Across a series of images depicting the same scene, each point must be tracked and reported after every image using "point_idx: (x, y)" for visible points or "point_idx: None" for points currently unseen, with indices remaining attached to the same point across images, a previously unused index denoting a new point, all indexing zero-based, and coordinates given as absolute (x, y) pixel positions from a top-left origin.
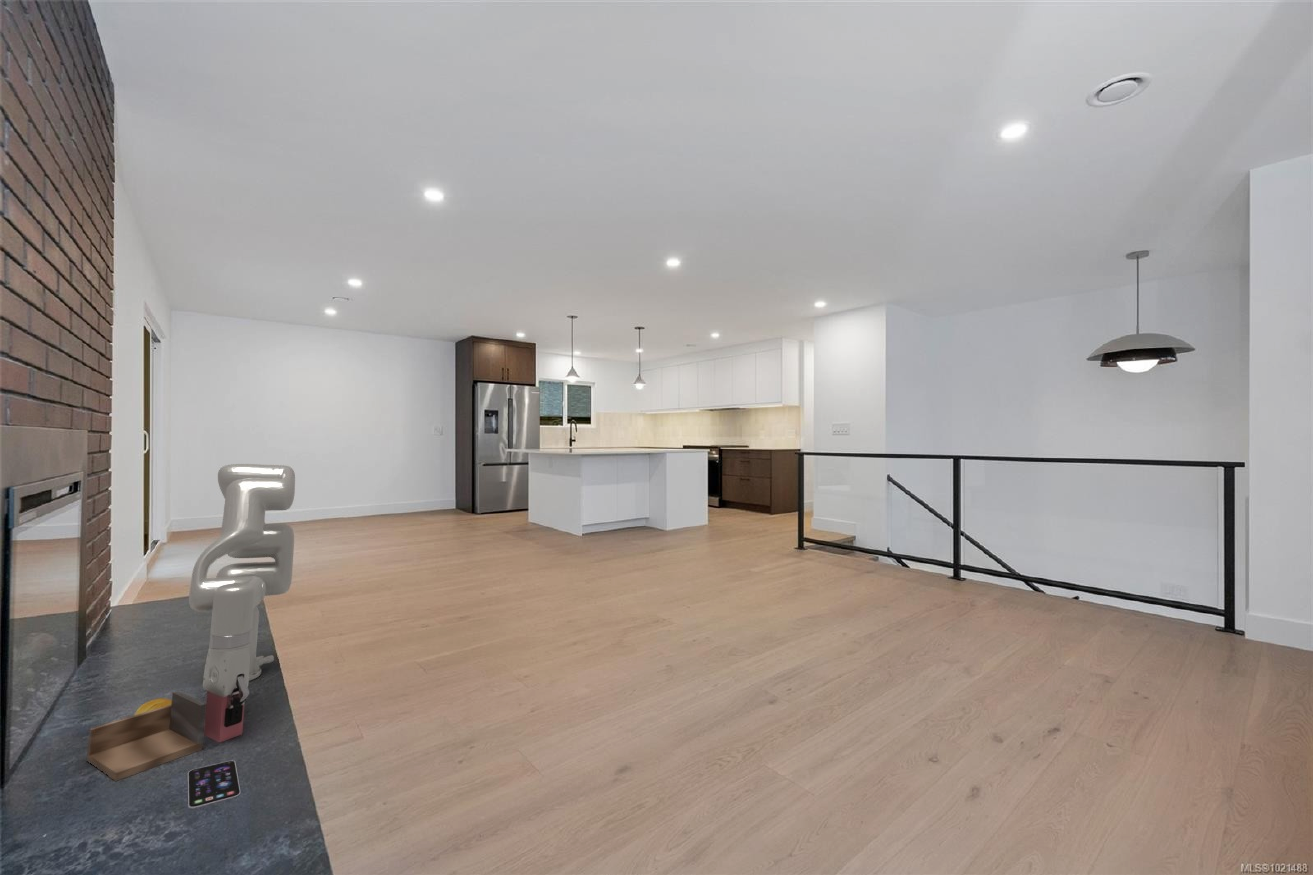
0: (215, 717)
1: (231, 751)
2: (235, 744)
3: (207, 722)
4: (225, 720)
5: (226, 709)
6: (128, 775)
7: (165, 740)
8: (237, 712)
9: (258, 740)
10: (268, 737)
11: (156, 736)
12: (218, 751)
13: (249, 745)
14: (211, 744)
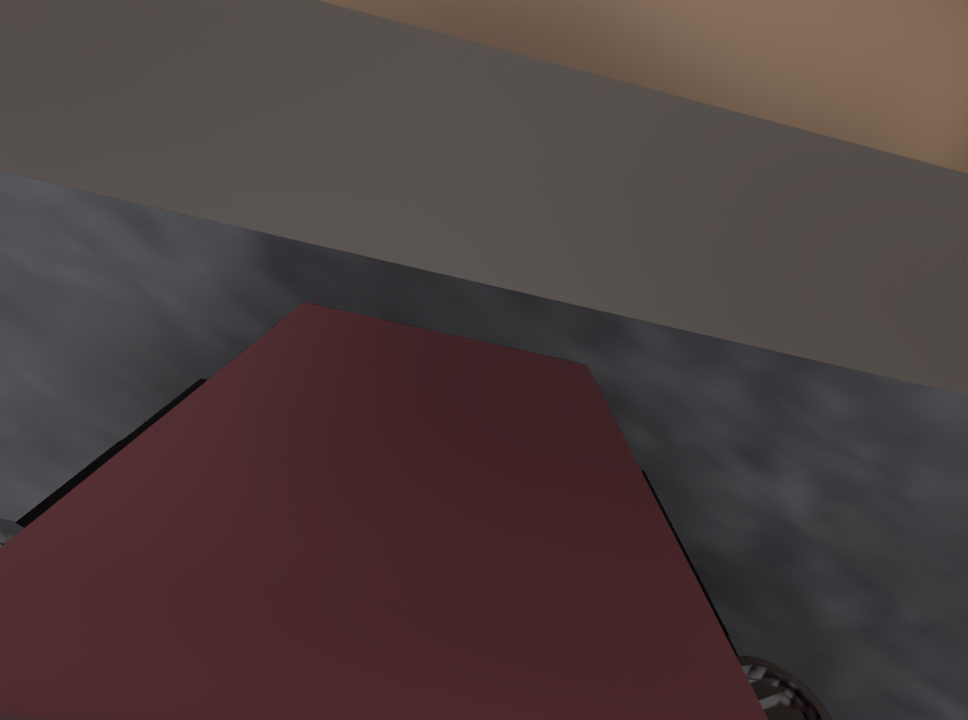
0: (362, 416)
1: (21, 214)
2: (136, 326)
3: (552, 406)
4: (170, 409)
5: (54, 502)
6: None
7: (735, 12)
8: None
9: (39, 441)
10: (25, 502)
11: (936, 59)
12: None
13: (6, 353)
14: (335, 253)
